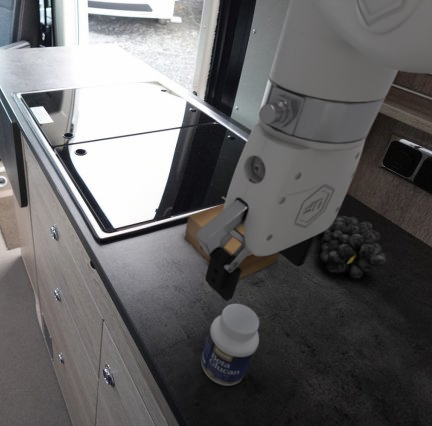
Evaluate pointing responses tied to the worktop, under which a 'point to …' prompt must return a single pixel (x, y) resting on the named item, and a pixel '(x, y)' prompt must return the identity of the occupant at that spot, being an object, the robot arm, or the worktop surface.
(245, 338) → the pill bottle
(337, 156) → the robot arm
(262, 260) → the brown flat block
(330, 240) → the fruit
